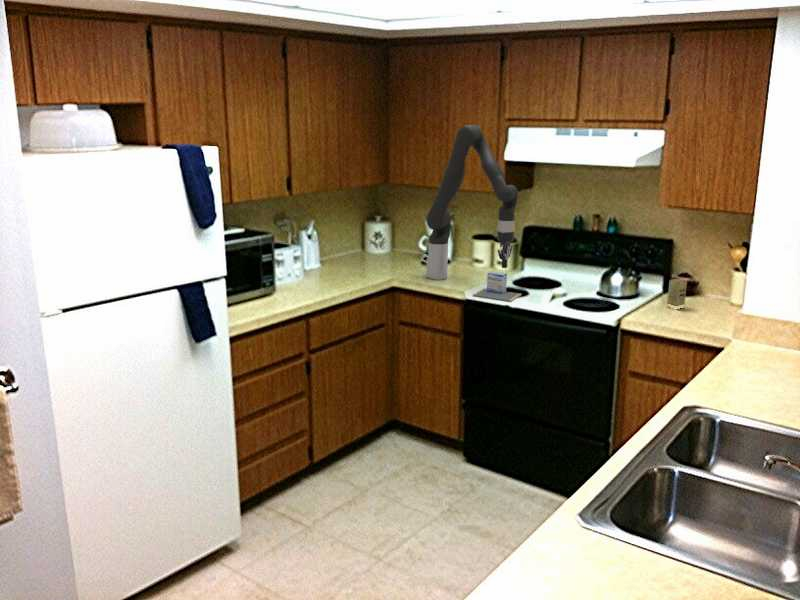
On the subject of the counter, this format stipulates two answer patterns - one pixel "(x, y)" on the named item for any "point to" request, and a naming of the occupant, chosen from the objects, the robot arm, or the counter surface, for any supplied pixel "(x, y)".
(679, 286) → the shoe polish box
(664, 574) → the counter surface
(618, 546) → the counter surface
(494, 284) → the medicine box
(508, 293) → the mat
